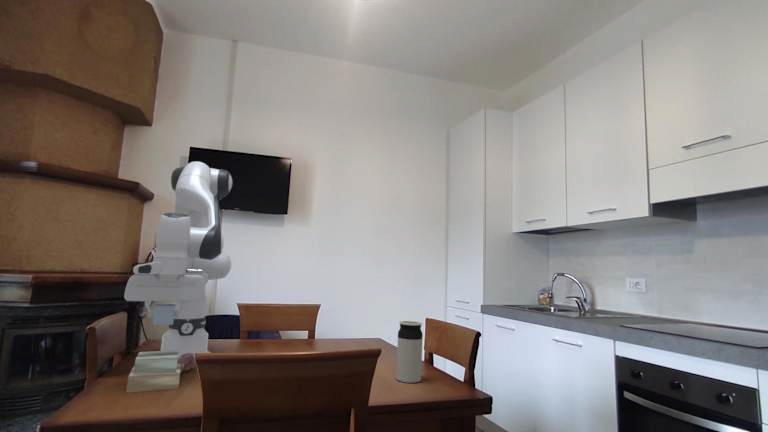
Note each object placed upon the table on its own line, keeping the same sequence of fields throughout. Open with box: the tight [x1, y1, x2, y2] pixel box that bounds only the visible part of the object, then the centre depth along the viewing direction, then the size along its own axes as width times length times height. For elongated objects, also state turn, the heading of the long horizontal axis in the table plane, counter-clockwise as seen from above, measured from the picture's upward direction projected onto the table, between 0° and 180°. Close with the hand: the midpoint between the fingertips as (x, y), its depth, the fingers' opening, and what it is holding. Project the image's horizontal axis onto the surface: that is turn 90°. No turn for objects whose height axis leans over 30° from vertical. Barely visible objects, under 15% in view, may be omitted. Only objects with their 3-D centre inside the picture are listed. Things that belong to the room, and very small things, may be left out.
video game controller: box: [177, 353, 196, 374], centre depth 123 cm, size 10×5×7 cm, turn 169°
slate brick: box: [152, 303, 175, 326], centre depth 111 cm, size 5×5×5 cm
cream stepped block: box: [126, 350, 181, 394], centre depth 110 cm, size 12×12×8 cm
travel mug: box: [395, 320, 423, 384], centre depth 127 cm, size 8×8×18 cm
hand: (163, 317), depth 111 cm, fingers closed on slate brick, 5 cm apart
